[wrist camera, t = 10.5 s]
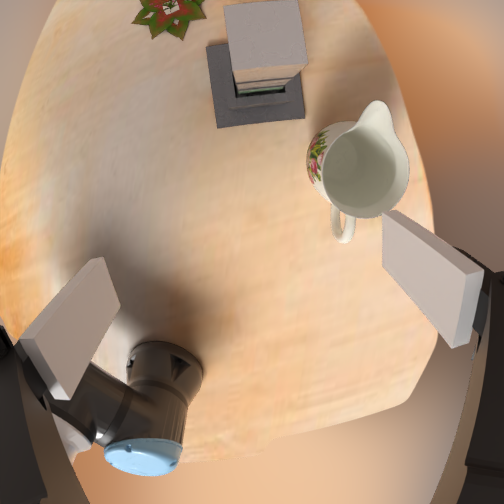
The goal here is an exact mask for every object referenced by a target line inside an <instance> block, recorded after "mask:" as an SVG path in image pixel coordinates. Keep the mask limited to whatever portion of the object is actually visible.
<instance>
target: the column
mask: <svg viewBox="0 0 504 504" xmlns="http://www.w3.org/2000/svg"><path fill="white" fill-rule="evenodd" d="M223 8H224V15H225V22H226V29H227V36H228V43H229V50H230V57H231V64H232V71H233V74H234V79H235V85H237V90H238V93H239V94H245V93H253V92H262V91H271V90H280V89H283V86H286V83H287V82H289V81H290V80H291V79H294V76H295V75H296V74H297V73H298V72H300V71H301V70H302V69H303V68H304V67H305V66H306V65H308V59H307V53H306V46H305V40H304V34H303V27H302V22H301V16H300V10H299V5H298V0H279V1H264V2H252V3H243V4H235V5H227V6H223Z"/></svg>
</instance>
